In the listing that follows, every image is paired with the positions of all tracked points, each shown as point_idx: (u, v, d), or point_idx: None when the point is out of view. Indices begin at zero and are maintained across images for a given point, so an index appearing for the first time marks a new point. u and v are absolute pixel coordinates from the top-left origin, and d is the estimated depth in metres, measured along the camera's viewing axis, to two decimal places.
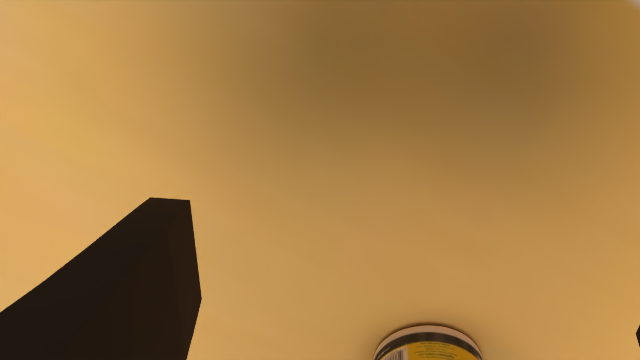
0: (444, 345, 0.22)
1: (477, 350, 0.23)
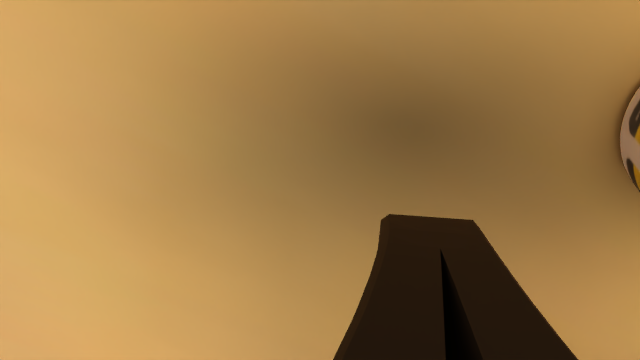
0: None
1: None
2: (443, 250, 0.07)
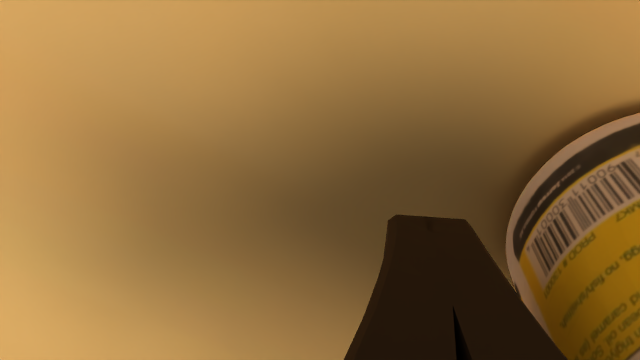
0: None
1: None
2: (435, 249, 0.07)
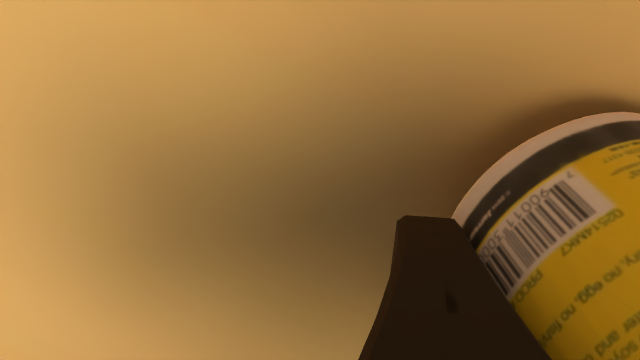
0: None
1: None
2: (422, 248, 0.07)
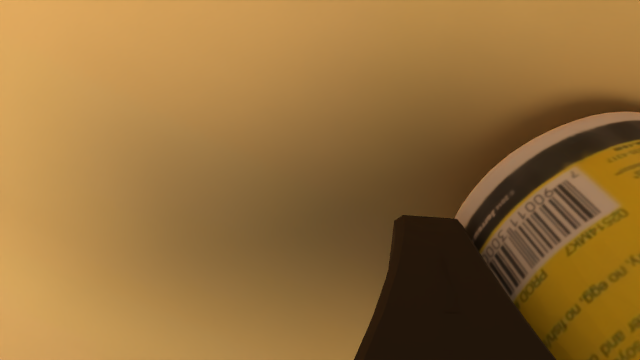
0: None
1: None
2: (425, 249, 0.07)
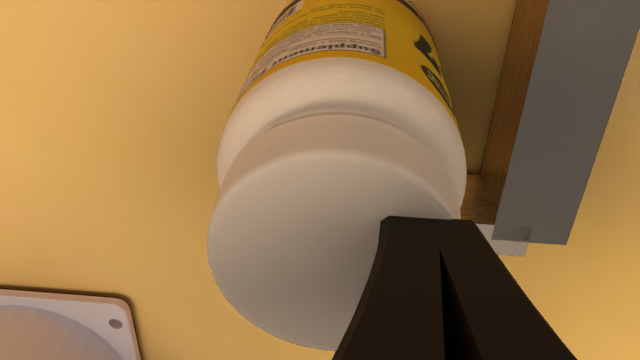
0: None
1: (423, 20, 0.14)
2: (442, 250, 0.07)
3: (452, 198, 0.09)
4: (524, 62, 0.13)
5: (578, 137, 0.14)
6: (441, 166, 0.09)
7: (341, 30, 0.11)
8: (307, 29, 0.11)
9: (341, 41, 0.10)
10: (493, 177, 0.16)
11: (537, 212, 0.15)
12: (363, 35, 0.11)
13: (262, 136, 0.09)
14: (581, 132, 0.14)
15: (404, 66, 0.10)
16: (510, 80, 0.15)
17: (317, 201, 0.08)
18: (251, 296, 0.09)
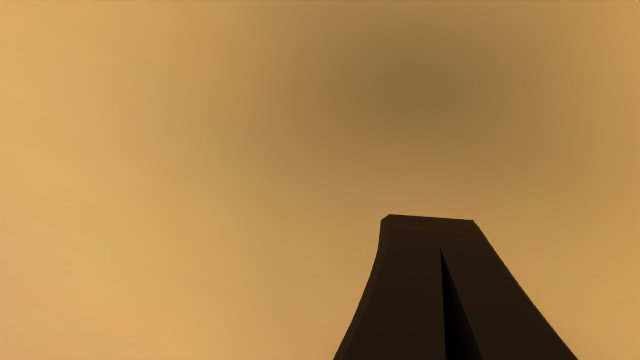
0: None
1: None
2: (443, 250, 0.07)
3: None
4: None
5: None
6: None
7: None
8: None
9: None
10: None
11: None
12: None
13: None
14: None
15: None
16: None
17: None
18: None
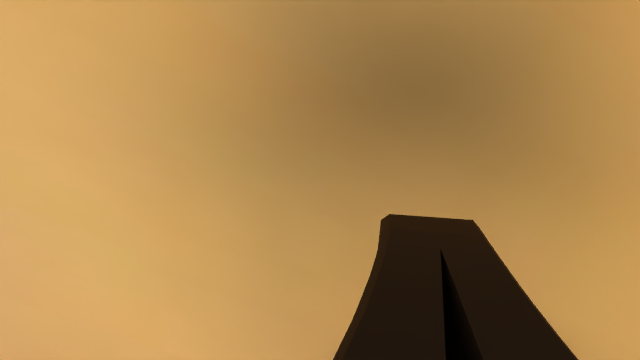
0: None
1: None
2: (443, 250, 0.07)
3: None
4: None
5: None
6: None
7: None
8: None
9: None
10: None
11: None
12: None
13: None
14: None
15: None
16: None
17: None
18: None
